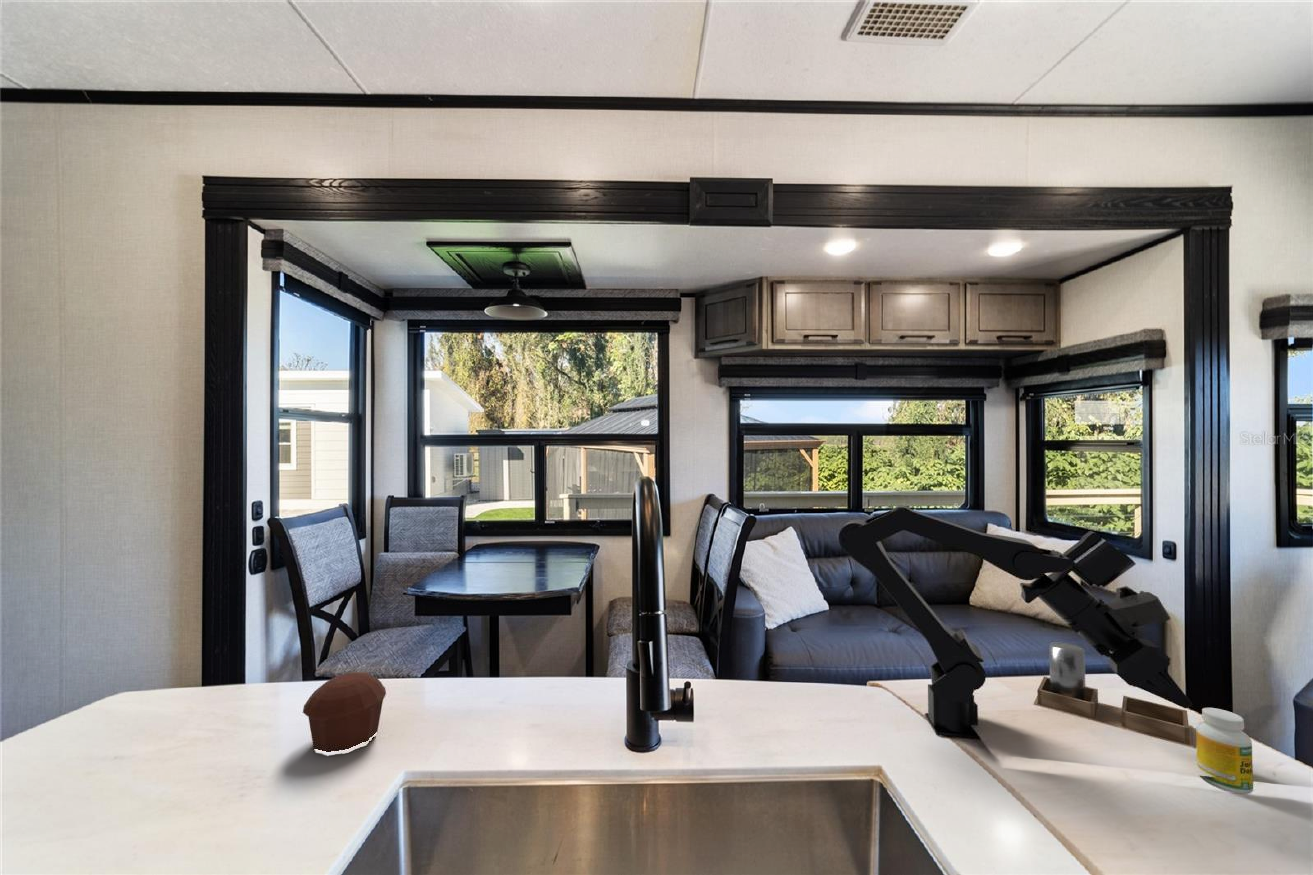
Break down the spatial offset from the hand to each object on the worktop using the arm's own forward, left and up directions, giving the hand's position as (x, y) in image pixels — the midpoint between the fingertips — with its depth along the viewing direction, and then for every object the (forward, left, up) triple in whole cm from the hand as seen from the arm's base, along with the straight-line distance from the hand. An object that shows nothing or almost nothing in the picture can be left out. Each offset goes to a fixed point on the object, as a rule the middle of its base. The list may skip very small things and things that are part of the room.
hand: (1174, 692), depth 76 cm
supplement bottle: (+5, -1, -12) cm, 13 cm away
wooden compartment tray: (0, +14, -11) cm, 18 cm away
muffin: (-125, -17, -12) cm, 126 cm away
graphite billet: (-5, +17, -10) cm, 21 cm away
